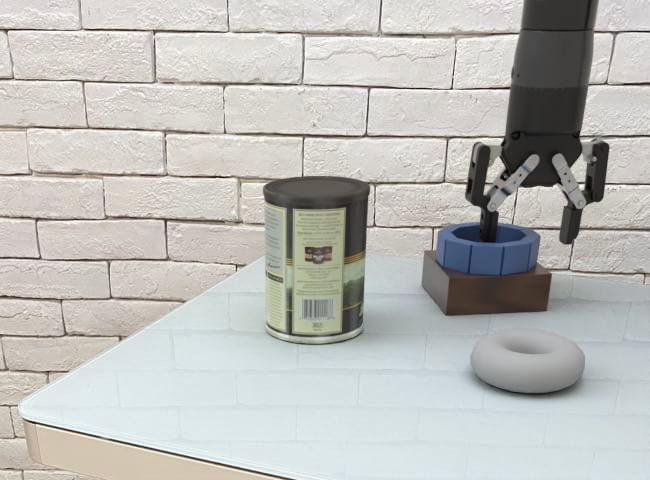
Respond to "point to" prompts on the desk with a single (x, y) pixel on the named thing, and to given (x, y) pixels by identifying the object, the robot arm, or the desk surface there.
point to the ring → (487, 249)
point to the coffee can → (315, 257)
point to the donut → (527, 360)
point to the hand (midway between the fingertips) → (527, 244)
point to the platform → (485, 289)
